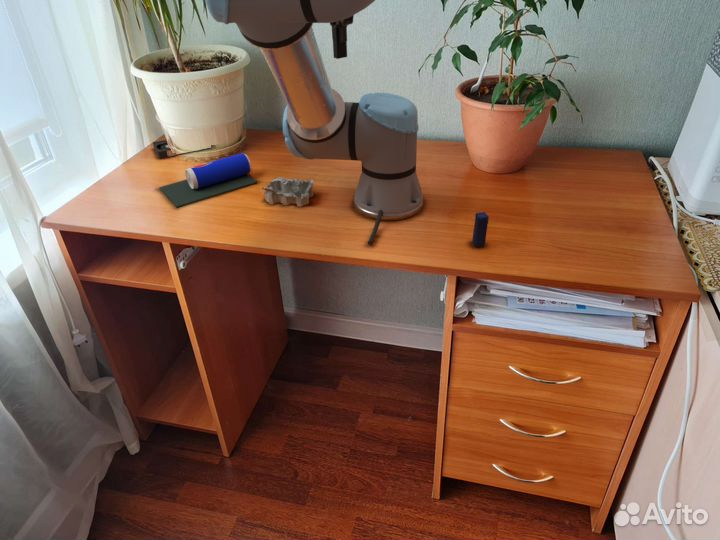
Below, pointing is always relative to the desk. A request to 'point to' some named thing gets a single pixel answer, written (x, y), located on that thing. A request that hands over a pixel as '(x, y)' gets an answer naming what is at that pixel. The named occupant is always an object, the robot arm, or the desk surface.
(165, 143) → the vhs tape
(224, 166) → the beverage can
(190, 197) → the mat
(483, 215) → the eraser
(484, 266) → the desk surface
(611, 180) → the desk surface
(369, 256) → the desk surface
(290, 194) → the egg carton
